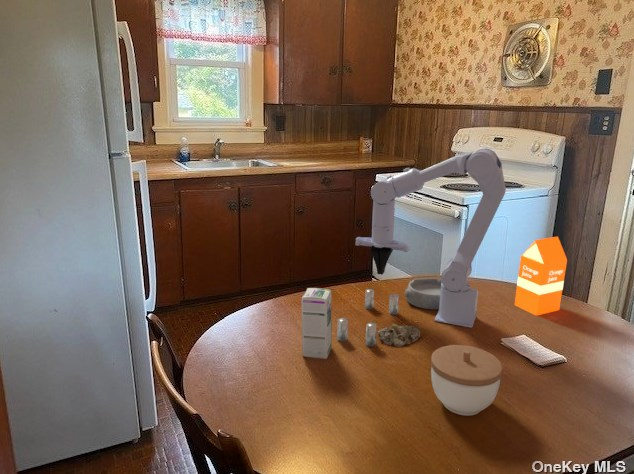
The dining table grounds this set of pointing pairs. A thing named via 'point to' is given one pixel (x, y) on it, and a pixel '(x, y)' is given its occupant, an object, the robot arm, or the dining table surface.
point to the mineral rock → (399, 335)
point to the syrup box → (316, 323)
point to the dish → (424, 293)
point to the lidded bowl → (465, 378)
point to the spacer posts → (370, 327)
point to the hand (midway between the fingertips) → (380, 273)
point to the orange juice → (541, 277)
